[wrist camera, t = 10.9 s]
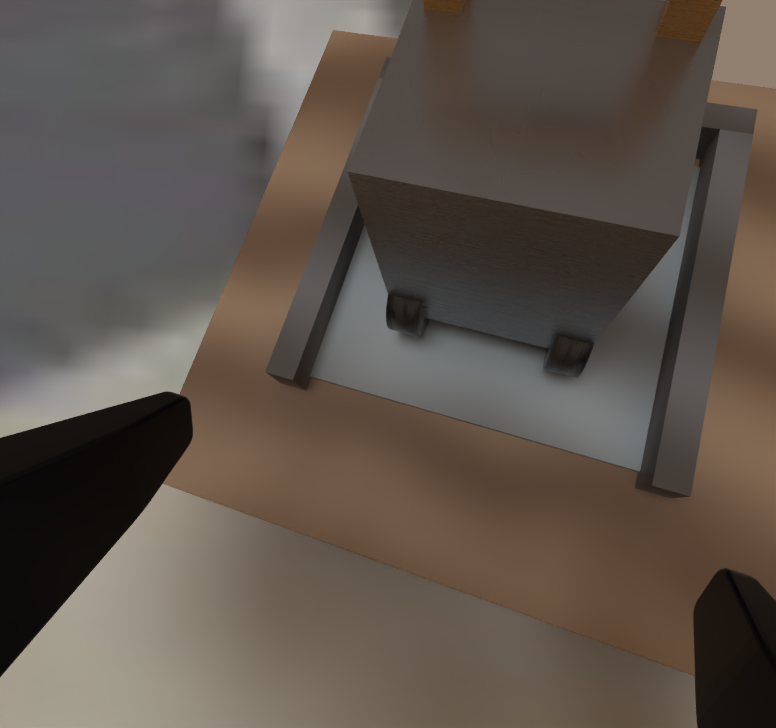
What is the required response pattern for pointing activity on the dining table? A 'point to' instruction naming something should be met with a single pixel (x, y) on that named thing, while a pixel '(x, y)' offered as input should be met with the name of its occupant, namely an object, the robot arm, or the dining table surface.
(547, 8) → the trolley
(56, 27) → the dining table surface
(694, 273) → the dock
